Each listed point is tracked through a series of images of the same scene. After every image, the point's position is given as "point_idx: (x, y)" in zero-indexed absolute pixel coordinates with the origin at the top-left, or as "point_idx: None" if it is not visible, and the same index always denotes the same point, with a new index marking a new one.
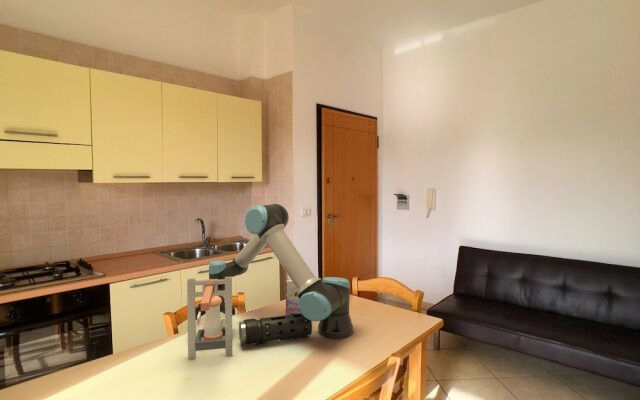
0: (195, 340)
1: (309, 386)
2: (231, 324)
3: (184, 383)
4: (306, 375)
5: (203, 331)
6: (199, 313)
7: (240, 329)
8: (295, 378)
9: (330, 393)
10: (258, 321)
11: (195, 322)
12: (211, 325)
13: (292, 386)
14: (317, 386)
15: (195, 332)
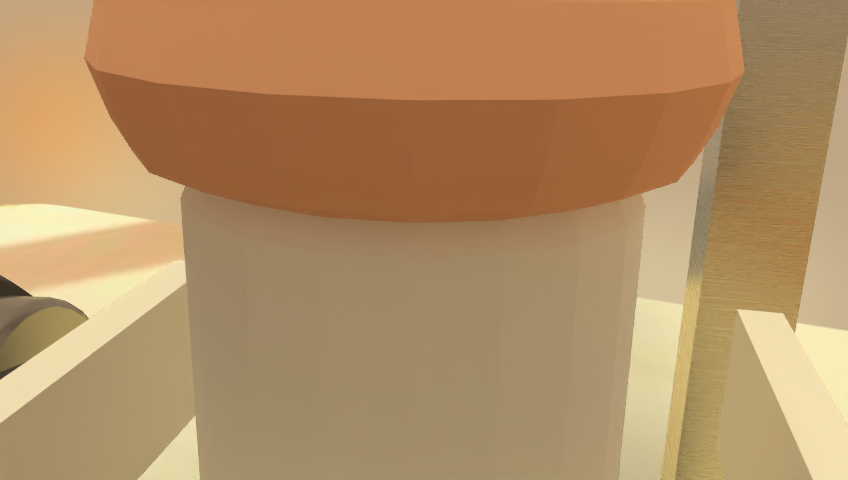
0: (680, 391)
1: (70, 229)
2: None
3: (659, 344)
4: (4, 260)
5: None
6: (831, 464)
7: None
8: (71, 259)
9: (43, 205)
10: None
11: (714, 170)
12: None
13: (132, 240)
14: (43, 225)
15: (694, 300)
